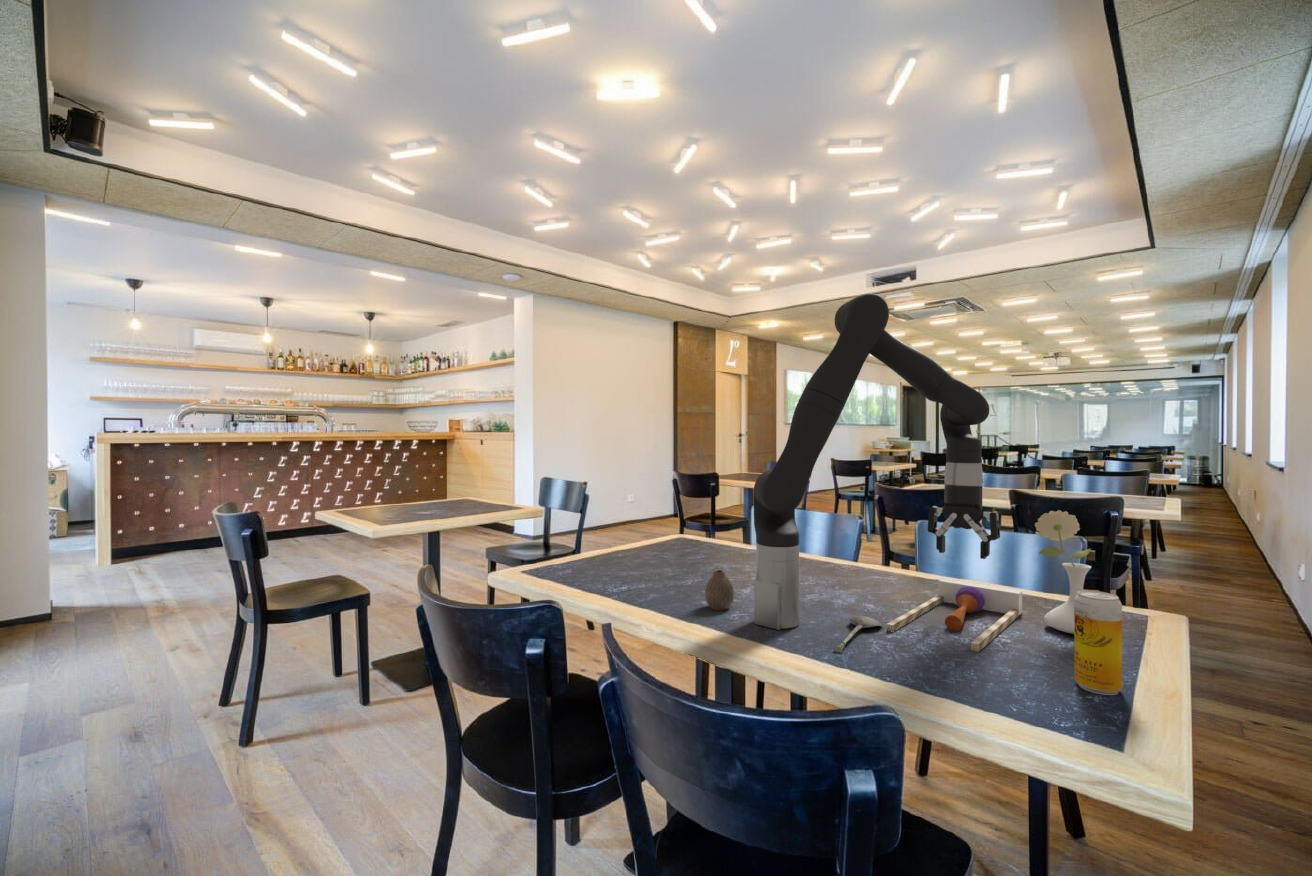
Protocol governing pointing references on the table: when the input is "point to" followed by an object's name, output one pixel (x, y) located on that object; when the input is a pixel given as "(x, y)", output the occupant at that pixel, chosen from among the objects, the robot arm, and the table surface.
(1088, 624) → the beer can
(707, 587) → the vase
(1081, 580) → the flower in vase
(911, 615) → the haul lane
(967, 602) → the kendama
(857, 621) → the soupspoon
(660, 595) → the table surface
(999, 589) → the end stop
